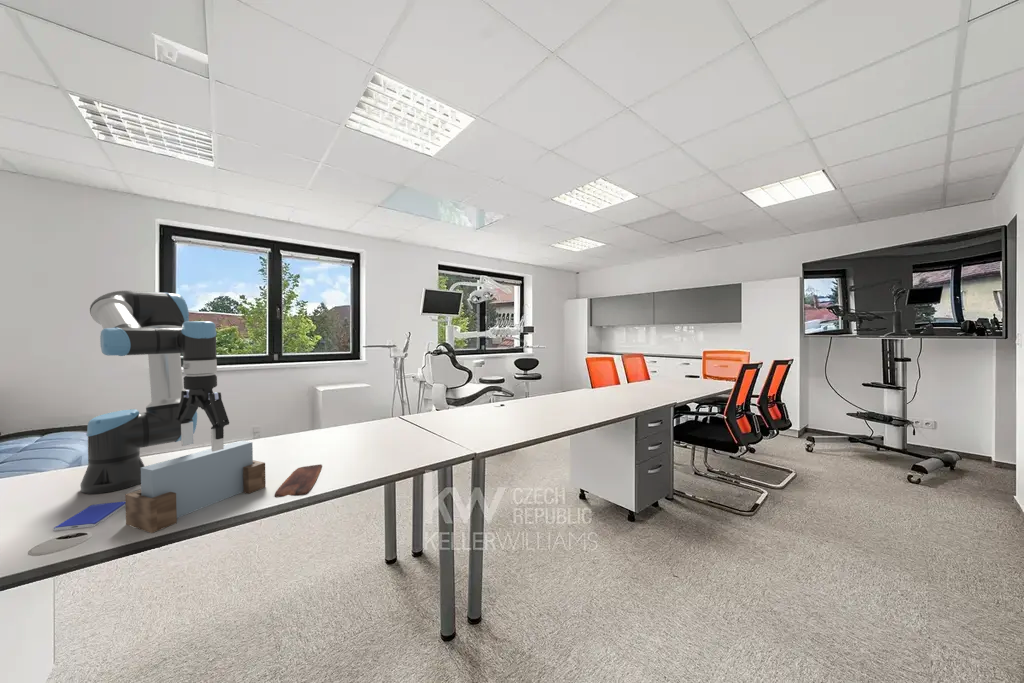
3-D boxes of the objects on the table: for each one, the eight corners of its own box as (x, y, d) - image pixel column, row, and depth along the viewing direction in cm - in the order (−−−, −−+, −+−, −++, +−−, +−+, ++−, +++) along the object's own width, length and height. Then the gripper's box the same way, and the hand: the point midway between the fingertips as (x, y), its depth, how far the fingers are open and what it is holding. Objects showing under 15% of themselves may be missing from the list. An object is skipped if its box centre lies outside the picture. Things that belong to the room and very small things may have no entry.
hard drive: (90, 504, 108) (53, 526, 96) (126, 501, 111) (94, 522, 99) (90, 510, 108) (53, 533, 96) (126, 506, 111) (94, 528, 99)
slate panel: (142, 523, 100) (140, 467, 100) (242, 485, 125) (241, 440, 124) (153, 527, 99) (151, 470, 98) (253, 488, 123) (252, 442, 122)
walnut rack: (126, 524, 100) (125, 494, 99) (242, 481, 128) (241, 458, 127) (151, 533, 96) (150, 501, 95) (265, 487, 124) (265, 462, 123)
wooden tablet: (296, 464, 142) (326, 458, 144) (297, 469, 142) (326, 464, 144) (271, 495, 116) (307, 488, 118) (272, 502, 116) (308, 495, 119)
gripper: (158, 374, 111) (160, 446, 112) (214, 378, 102) (216, 456, 103) (188, 371, 118) (190, 439, 119) (243, 375, 109) (244, 448, 110)
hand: (202, 447), depth 111 cm, fingers open, 13 cm apart
